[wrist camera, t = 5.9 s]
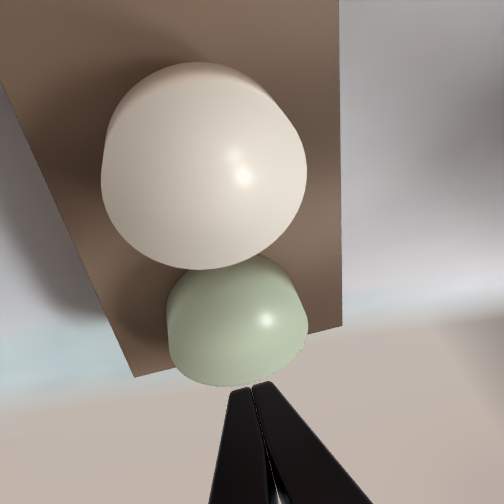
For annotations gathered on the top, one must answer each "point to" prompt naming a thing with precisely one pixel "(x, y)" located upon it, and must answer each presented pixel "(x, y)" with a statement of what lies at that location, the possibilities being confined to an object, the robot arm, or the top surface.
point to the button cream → (201, 167)
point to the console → (118, 85)
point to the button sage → (235, 323)
